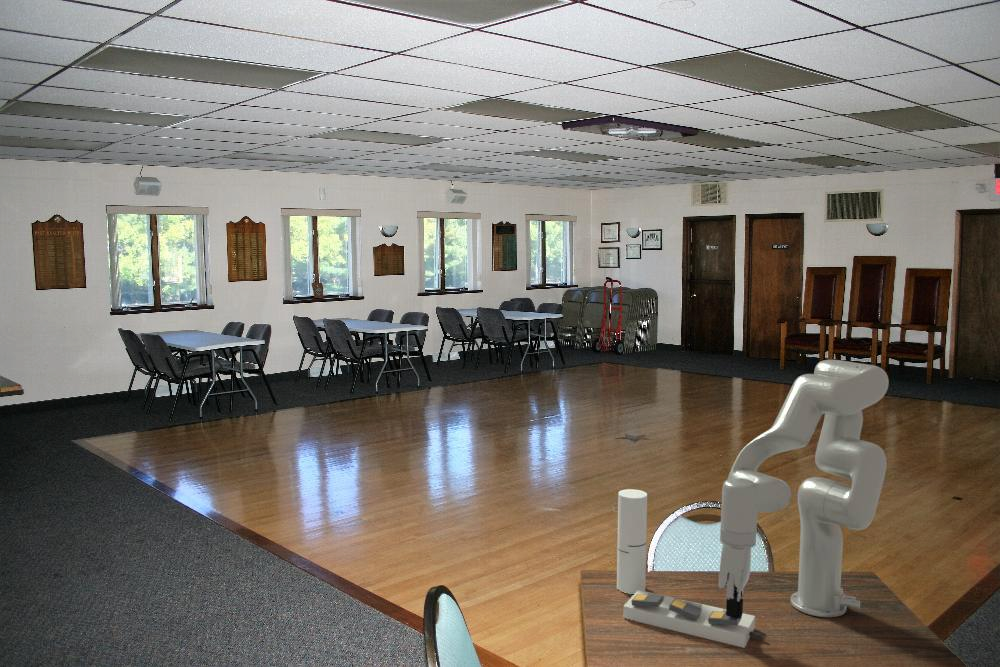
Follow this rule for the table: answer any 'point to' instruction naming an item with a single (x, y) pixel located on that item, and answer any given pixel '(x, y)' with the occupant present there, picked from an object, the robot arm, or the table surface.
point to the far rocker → (647, 600)
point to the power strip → (692, 621)
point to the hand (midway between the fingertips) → (734, 615)
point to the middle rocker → (685, 609)
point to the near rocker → (722, 619)
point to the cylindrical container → (631, 540)
